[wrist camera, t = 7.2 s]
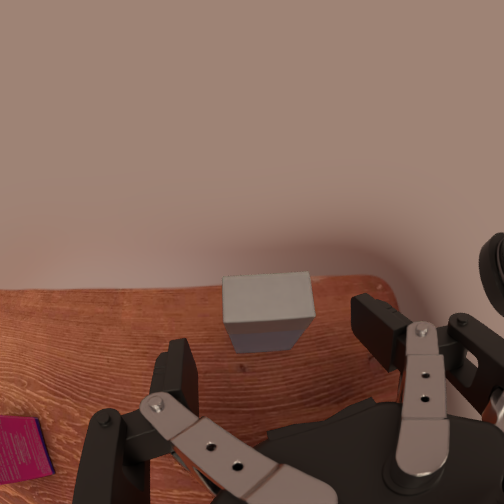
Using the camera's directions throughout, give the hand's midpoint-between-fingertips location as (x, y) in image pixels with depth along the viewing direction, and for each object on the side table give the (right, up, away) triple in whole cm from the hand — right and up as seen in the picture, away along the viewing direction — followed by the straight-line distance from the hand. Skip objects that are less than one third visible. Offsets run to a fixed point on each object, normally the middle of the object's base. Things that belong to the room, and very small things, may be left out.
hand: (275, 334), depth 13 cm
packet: (0, -2, +8) cm, 8 cm away
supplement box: (-22, -14, +1) cm, 26 cm away
